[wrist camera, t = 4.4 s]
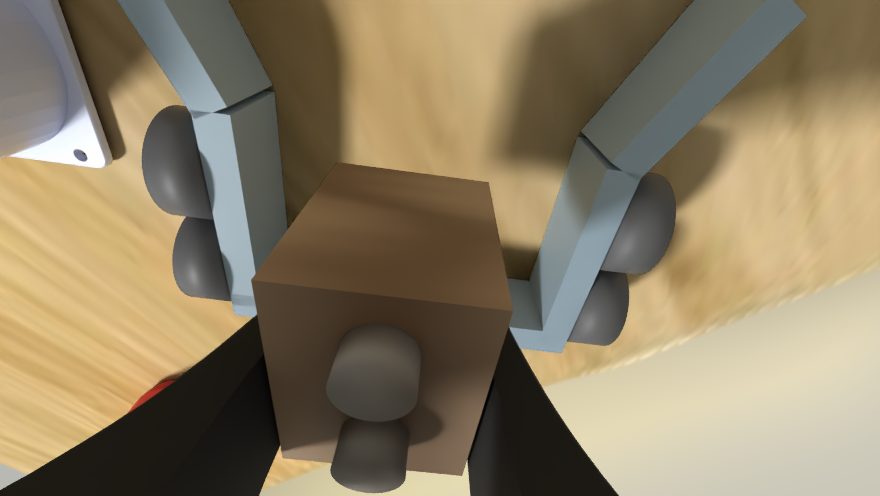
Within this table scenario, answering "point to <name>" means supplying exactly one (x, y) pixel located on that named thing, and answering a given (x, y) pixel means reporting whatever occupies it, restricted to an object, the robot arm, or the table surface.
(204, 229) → the chassis
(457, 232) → the wooden block with knobs
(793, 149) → the table surface
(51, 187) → the table surface
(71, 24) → the table surface
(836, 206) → the table surface
